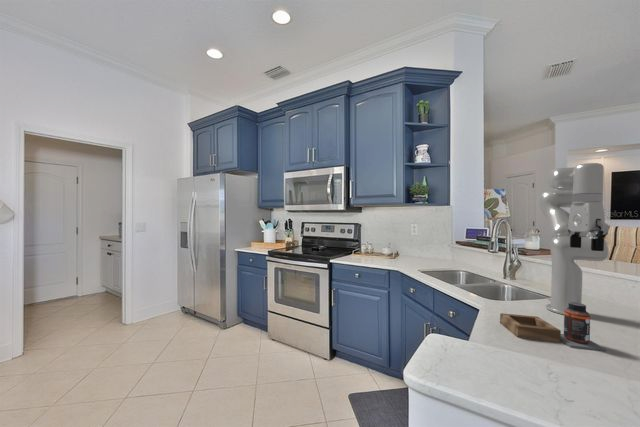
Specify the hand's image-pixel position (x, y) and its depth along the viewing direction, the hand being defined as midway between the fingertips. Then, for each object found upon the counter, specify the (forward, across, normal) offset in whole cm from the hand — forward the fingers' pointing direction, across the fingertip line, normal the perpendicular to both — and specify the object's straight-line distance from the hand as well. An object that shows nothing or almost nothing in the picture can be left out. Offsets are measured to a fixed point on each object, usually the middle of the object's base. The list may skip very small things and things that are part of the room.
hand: (585, 249), depth 94 cm
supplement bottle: (+28, +11, -9) cm, 31 cm away
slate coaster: (+28, +11, -9) cm, 32 cm away
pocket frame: (+28, +6, -20) cm, 35 cm away
